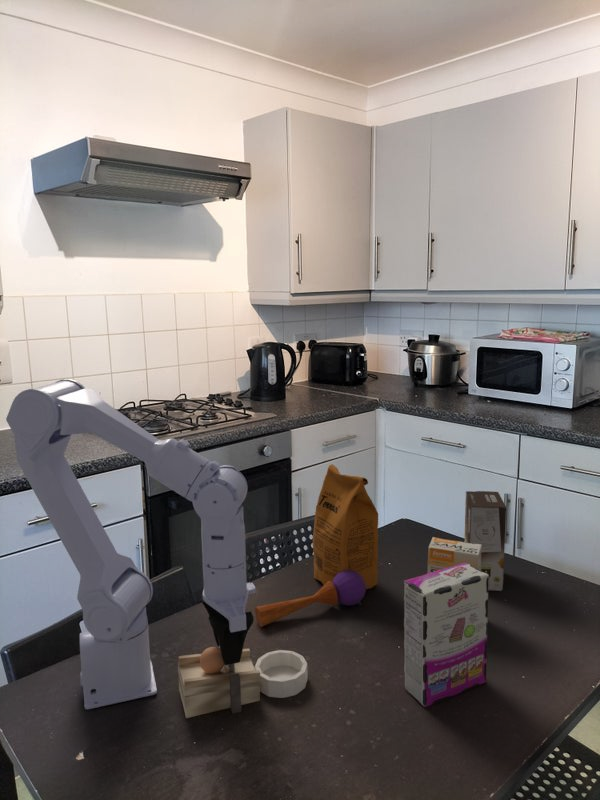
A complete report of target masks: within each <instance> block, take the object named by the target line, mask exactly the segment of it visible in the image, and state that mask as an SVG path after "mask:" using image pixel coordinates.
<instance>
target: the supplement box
mask: <svg viewBox="0 0 600 800" xmlns="http://www.w3.org/2000/svg"><path fill="white" fill-rule="evenodd" d="M427 549H428V551H427V552H428V553H427V572H426V574H428V573H432V572H435V571H438V570H442V569H445V568H449V567H452V566H455V565H459V564H462V563H468V564H470V565H472V567H475V568H477V569H479V570H480V568H481V549H482V545H481V544H473V543H467V542H464V541H460V540H454V539H453V540H451V539H447V538H440V537H435V536H432V538H431V541H430V543H429V545H428V548H427Z"/></svg>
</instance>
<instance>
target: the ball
mask: <svg viewBox="0 0 600 800" xmlns="http://www.w3.org/2000/svg"><path fill="white" fill-rule="evenodd" d="M200 654H201V657H200V665H201V668H202V669H203V670H204V671H205V672H206V673H209V674H215V673H218V672H219V671H220V670H221V669H222V668H223V666H224V661H223V659H222V655H221V651H220V649H219V648H218V646H217V647H216V646H209V647H208V648H207V647H206V648H205V649H204V650H203V651H202V653H200Z"/></svg>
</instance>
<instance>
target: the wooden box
mask: <svg viewBox="0 0 600 800" xmlns="http://www.w3.org/2000/svg"><path fill="white" fill-rule="evenodd" d="M217 648H219V649H220V646H218V645H217ZM201 654H202V653H195V654H186V655H179V656H178V658H177V659H178V660H177V671H178V672H177V673H178V688H179V689H178V690H179V695H180V699H181V703H182V706H183V707H182V708H183V710H184V711H183V712H184V714H185V715H184V716H185V718H186V719H189V718H192V717H193V718H194V717H196V716H200V715H201V716H202V715H205V714H209V713H214V712H220V711H222V710H226V709H227V710H228V709H230V711H231V713H232V714H233V715H234V714H237V713H241V712H242V706H243V705H247V704H251V703H255V702H259V701H260V700H261V692H260V684H259V682H260V671H259V670H255V665H254V664H253V661H252V659H251V658H250V657H251V656H250V655H251V649H250V648H243V651H242V655H241V659H240V662H239V663H234V664H235V673H230V674H228V672H227V669H226V667H225V664H224V666H223V668H222V669H221V670H220V671H219V672H218V673H215V674H209V673H206V672H205V671H204V670H203V669H202V668H201V665H200V657H201Z"/></svg>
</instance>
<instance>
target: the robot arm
mask: <svg viewBox="0 0 600 800" xmlns="http://www.w3.org/2000/svg"><path fill="white" fill-rule="evenodd" d="M12 400H13V401H12V403H11V405H10V408H9V409H8V410H9V411H8V414H7V415H6V417H5V419H6V423H7V425H8V426H9V428H10V430H11V432H12V433H13V435H14V436H13V437H14V445H15V454H16V459H17V463H18V465H19V467H20V469H21V471H22V473H23V475H24V476H25V478H26V480H27V482H28V483H29V485H30V487H31V489H32V491H33V493H34V494H35V496H36V498H37V499H38V501H39V503H40V505H41V507H42V508H43V511H44V512H45V514H46V516H47V517H48V519H49V521H50V523H51V524H52V525H51V526H53V528H54V530H55V532H56V534H57V536H58V537H59V539H60V541H61V542H62V545H63V547H64V548H65V550H66V552H67V554H68V556H69V557H70V559H71V560H72V563H73V564H74V567H75V568H76V570H77V572H78V574H79V577H80V579H79V583H78V589H77V596H76V598H77V601H78V603H79V605H80V607H81V610H82V621H83V624H84V627H85V629H86V631H83V632H80V633H79V652H80V653H79V655H80V667H81V668H80V669H81V671H80V673H79V674H80V676H79V677H80V678H79V679H80V686H81V687H82V690H83V700H84V704H83V706H84V709H85V710H92V709H95V708H101V707H105V706H109V705H115V704H118V703H123V702H127V701H132V700H136V699H141V698H146V697H149V696H154V695H156V694H157V693H158V690H157V689H158V688H157V683H156V678H155V673H154V666H153V663H152V662H153V661H152V660H151V653H150V637H149V623H148V621H149V620H148V615H147V607H146V606H148V604H149V602H150V601H151V600H152V597H153V594H154V587H153V584H152V581H151V579H150V578H149V577H148V576H147V574H145V573H144V572H143V571H142V570H140V569H139V568H138V567H137V566H136V564H135V562H134V560H133V559H132V557H129V556H127V555H123V554H121V553H119V552H118V551H117V550H116V549H115V546H114V545H113V542H112V540H111V538H110V537H109V535H108V533H107V532H106V530H105V528H104V526H103V525H102V522H101V520H100V518H99V517H98V515H97V513H96V512H95V510H94V507H93V506H92V504H91V502H90V501H89V499H88V496H87V494H86V493H85V492H84V490H83V488H82V486H81V484H80V482H79V480H78V479H77V477H76V475H75V473H74V472H73V469H72V468H71V466H70V464H69V462H68V460H67V458H66V457H65V452H66V450H67V447H68V445H69V442H70V440H71V438H72V435H79V434H92V435H95V436H96V437H98V438H100V439H101V440H103V441H106V442H107V443H108V444H111V445H113V446H114V447H116V448H119V449H120V450H122V451H124V452H126V453H127V454H129V455H131V456H132V457H135V458H137V459H139V460H141V461H143V463H144V464H145V468H146V472H147V475H148V476H150V478H153V479H154V480H156V481H157V482H159V483H160V484H162V485H164V486H165V487H167V488H168V489H170V490H171V491H173V492H175V493H176V494H178V495H180V497H183V498H185V499H186V500H188V501H189V502H192V506H193V509H194V512H195V513H196V515H197V516H198V517H199V518H200V522H201V523H200V524H201V526H200V527H201V528H200V532H201V533H200V535H201V554H202V555H201V556H202V575H203V577H202V578H203V590H202V595H200V600H201V603H202V605H203V607H204V608H205V609H206V612H207V614H208V622H209V624H210V626H211V628H212V633H213V636H214V637H213V638H214V639H215V643H216V645H217V647H218V646H220V651H221V655H222V659H223V661H224V664H225V665H229V664H234V663H239V662H240V659H241V655H242V651H243V649H244V645H245V639H246V637H247V634H248V632H249V631H250V628H251V627H252V625H253V623H254V619H255V618H254V615H253V613H252V611H246V609H247V603H248V599H249V595H254V594H255V593H256V591H257V590H256V587H257V586H255V585H254V583H253V582H248V581H247V580H248V579H247V555H246V554H247V553H246V550H247V549H246V527H245V521H244V519H245V518H244V517H245V516H244V505H242V504H243V502H244V501H245V499H246V498H247V494H248V483H247V480H246V477H245V476H244V475H243V474H242V472H241V471H239V470H238V469H237V468H236V466H233V465H229V464H224V465H221V463H220V462H218V461H216V460H213V461H211V460H209V459H208V458H206V457H205V456H202V454H200V453H198V452H197V451H195V450H193V449H191V448H190V445H191V443H190V442H188V441H187V440H185V439H184V438H182V439H180V440H177V439H175V438H173V437H172V438H171V437H170V438H166V439H158V438H157V437H156V436H154V435H153V434H152V433H150V432H148V431H147V430H146V429H144V428H143V427H141V426H140V425H138V423H136V422H134V421H133V420H131V419H130V418H129V417H127V416H126V415H124V414H123V413H122V412H120V411H119V410H117V409H116V408H115V407H113V406H112V405H110V404H108V403H107V402H106V401H105V400H104V399H102V397H101V396H100V395H99V394H98V393H97V392H96V390H93V389H91V388H89V387H85V386H84V385H83V384H82V383H80V382H79V381H77V380H75V379H72V378H64V379H60V380H57V381H55V382H54V383H49V384H46V385H43V386H40V387H36V388H27V389H25V390H22V391H21V392H19V393H18V394H17V395H16V396H15V397H14V399H12Z"/></svg>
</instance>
